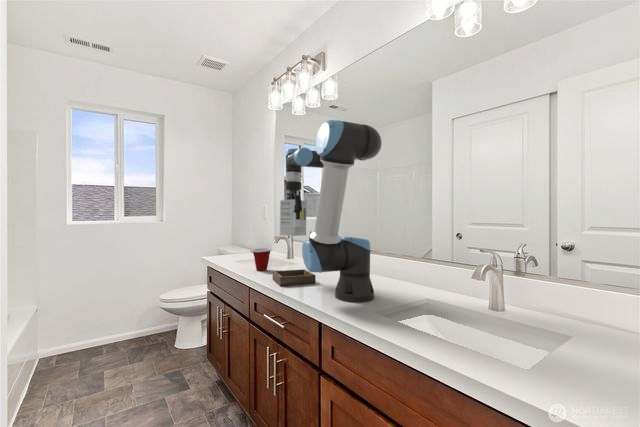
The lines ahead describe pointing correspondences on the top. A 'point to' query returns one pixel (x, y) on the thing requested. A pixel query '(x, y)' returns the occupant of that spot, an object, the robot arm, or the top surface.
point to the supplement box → (291, 218)
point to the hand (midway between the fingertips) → (293, 226)
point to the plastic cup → (261, 258)
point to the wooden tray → (293, 277)
